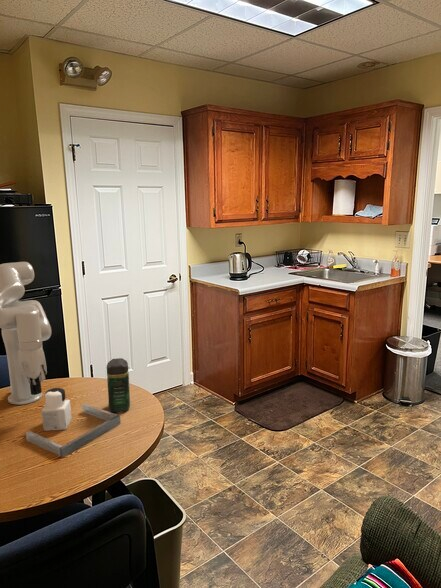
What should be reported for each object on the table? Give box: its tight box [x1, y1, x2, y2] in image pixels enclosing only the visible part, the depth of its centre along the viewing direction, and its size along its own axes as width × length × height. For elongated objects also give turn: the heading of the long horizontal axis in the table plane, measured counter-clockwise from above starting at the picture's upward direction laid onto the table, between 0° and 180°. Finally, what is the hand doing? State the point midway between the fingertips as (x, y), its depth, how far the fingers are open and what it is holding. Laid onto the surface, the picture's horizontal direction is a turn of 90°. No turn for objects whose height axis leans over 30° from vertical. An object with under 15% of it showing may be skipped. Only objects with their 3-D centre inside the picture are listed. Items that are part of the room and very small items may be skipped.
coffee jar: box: [106, 357, 131, 413], centre depth 167 cm, size 10×8×19 cm
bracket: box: [25, 403, 122, 458], centre depth 151 cm, size 18×24×3 cm
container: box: [41, 387, 72, 431], centre depth 155 cm, size 8×8×13 cm
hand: (36, 393), depth 159 cm, fingers closed
